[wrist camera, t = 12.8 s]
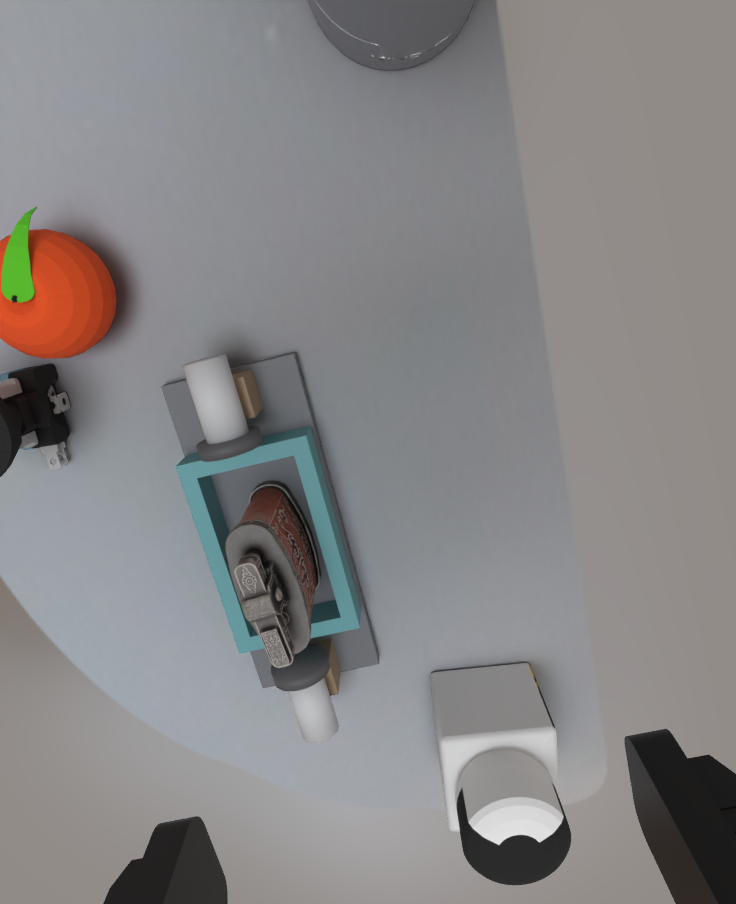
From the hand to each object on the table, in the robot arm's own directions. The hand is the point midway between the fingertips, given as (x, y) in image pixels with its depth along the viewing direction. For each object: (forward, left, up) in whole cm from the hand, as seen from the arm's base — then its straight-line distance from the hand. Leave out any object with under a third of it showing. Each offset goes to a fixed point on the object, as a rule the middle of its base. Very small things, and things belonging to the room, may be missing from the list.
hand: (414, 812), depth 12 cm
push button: (-6, -21, -30) cm, 37 cm away
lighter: (+5, -8, -29) cm, 31 cm away
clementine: (-13, -16, -30) cm, 37 cm away
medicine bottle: (+22, +2, -30) cm, 37 cm away
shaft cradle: (+5, -8, -30) cm, 32 cm away
